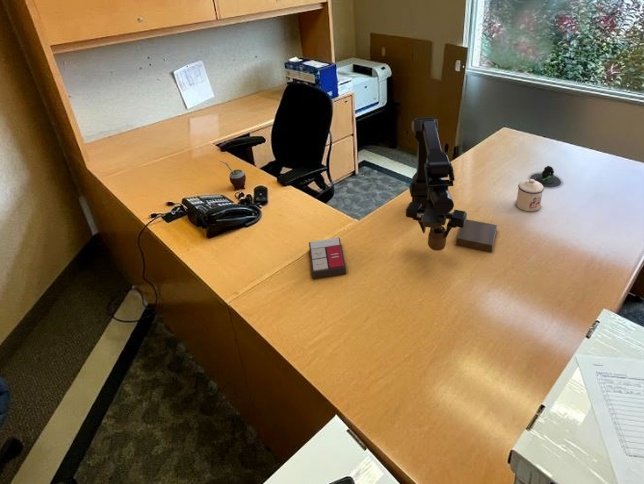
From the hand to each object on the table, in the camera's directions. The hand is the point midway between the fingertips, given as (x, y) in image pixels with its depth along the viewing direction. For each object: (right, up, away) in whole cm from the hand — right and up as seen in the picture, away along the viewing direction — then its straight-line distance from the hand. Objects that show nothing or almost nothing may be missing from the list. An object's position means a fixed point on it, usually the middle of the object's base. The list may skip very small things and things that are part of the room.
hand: (434, 234), depth 137 cm
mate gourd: (-79, +14, +51) cm, 95 cm away
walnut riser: (+17, -3, +10) cm, 19 cm away
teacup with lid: (+43, +8, +26) cm, 50 cm away
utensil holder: (+1, -4, +3) cm, 5 cm away
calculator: (-36, -10, +4) cm, 37 cm away
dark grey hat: (+56, +17, +40) cm, 71 cm away
